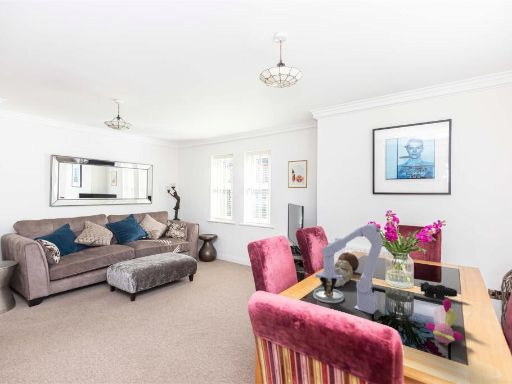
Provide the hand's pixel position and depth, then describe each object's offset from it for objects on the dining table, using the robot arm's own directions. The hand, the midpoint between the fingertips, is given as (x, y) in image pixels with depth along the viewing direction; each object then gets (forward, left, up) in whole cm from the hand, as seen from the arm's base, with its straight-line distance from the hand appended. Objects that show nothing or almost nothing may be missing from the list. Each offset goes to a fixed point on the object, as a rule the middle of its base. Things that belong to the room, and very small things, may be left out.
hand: (328, 291), depth 148 cm
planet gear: (0, 0, -2) cm, 2 cm away
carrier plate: (+2, -4, -5) cm, 7 cm away
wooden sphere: (+13, -56, -5) cm, 58 cm away
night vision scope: (-44, -47, -5) cm, 65 cm away
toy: (-53, -2, -5) cm, 53 cm away
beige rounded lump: (+9, -30, -5) cm, 32 cm away
